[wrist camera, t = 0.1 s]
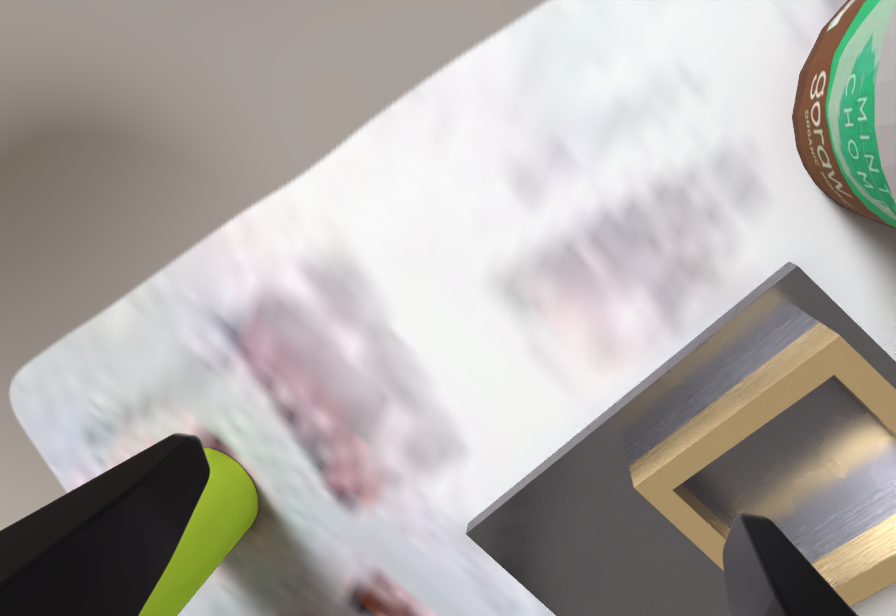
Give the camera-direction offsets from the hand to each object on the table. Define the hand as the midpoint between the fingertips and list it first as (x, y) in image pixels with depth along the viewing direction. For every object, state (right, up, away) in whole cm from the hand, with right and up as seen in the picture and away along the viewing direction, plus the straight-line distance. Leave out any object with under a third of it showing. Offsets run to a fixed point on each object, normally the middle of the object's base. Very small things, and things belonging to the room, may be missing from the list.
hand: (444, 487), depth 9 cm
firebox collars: (+12, -6, +16) cm, 20 cm away
